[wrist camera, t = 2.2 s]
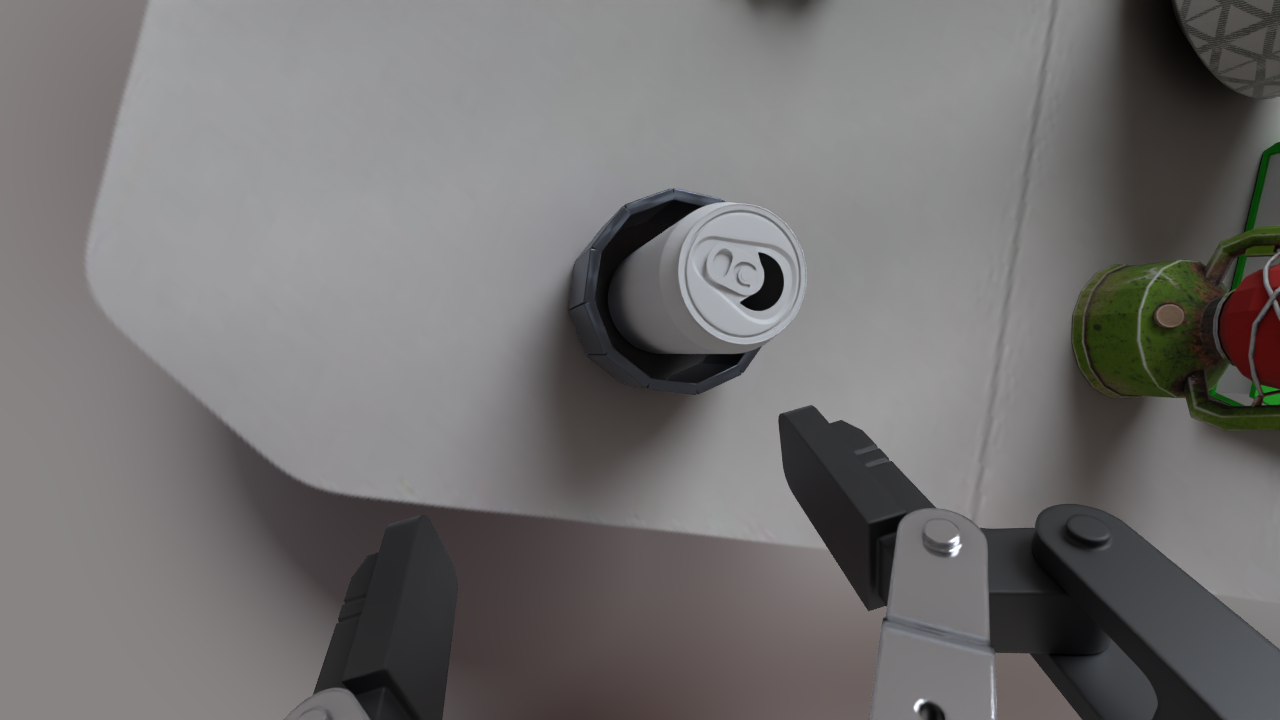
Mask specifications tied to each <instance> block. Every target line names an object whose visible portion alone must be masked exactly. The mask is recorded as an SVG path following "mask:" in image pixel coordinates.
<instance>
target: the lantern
mask: <svg viewBox="0 0 1280 720" xmlns="http://www.w3.org/2000/svg"><path fill="white" fill-rule="evenodd" d="M1278 249H1280V225H1277V226H1260V227H1257V228H1254V229H1252V230H1249V231H1247V232H1244V233H1242V234H1239V235H1236V236H1234V237H1231V238H1229V239H1226V240H1224V241H1221V242H1220V244H1219V246H1218V247H1217V249H1216V251H1215V252H1214V254H1213V256H1212V257H1211V259H1210V261H1209V262H1208V264H1207V266H1205V265H1204V264H1202V263H1201V262H1197V261H1188V260H1176V261H1168V262H1161V263H1153V264H1146V265H1139V266H1135V265H1120V264H1115V265H1113V266H1110V267H1108V268H1106V269H1104V270H1102V271H1099V272H1097V273H1096V274H1095V275H1094V276H1093V278H1092V279H1091V280H1090V281H1089V282H1088V284H1087V285H1086V286H1085V287H1084V288H1083V290H1082V291H1081V294H1080V296H1079V299H1078V302H1077V305H1076V308H1075V311H1074V314H1073V328H1072V344H1073V348H1074V351H1075V355H1076V359H1077V362H1078V366H1079V368H1080V370H1081V371H1082V373H1083V374H1084V376H1085V377H1086V378H1087V380H1088V381H1089V383H1090V384H1091V385H1092V387H1093V388H1095V389H1097V390H1098V391H1100V392H1102V393H1103V394H1105V395H1107V396H1109V397H1110V398H1137V397H1142V396H1156V397H1172V398H1186V401H1187V404H1188V408H1189V412H1190V416H1191V418H1194V419H1196V420H1199V421H1202V422H1204V423H1207V424H1210V425H1212V426H1215V427H1218V428H1220V429H1223V430H1280V405H1262V404H1263V400H1264V397H1267V396H1271V395H1276V394H1280V390H1277V391H1272V392H1267V393H1263V390H1262V387H1261V385H1263V386H1267V387H1272V388H1276V389H1280V264H1276V265H1273V266H1271V264H1272V263H1273V262H1274V261H1275V260H1276V259H1277V258H1278V257H1279V256H1280V251H1279V252H1277V250H1278ZM1243 254H1245V255H1244V256H1246V257H1268V256H1273V257H1272V258H1270V259H1269V260H1268V261H1267V263H1266V265H1265V267H1264V268H1263V269H1260V270H1258V271H1256V272H1254V273H1252V274H1250V275H1248V276H1246V277H1245V278H1244V279H1243V281H1242V282H1241V283H1240V285H1239V286H1238V287H1237V288H1236V289H1234V290H1232V291H1230V292H1228V291H1227V290H1226V288H1225V286H1224V285H1223V283H1222V281H1223V279H1224V277H1225V275H1226V273H1227V271H1228V269H1229V267H1230V265H1231V263H1232V261H1233V259H1234V258H1235V257H1238V256H1241V255H1243ZM1229 364H1231V365H1232V366H1236V367H1237V369H1238V370H1239V371H1240V373H1241V374H1242V375H1243V376H1245V377H1246V378H1248V379H1249V380H1251V381H1253V382H1254V384H1255V386H1256V389H1257V392H1258V394H1259V395H1258V396H1256V397H1255V399H1254V401H1253V403H1252V404H1251V406H1227V405H1224V404H1222V403H1219V402H1216V401H1213V400H1211V399H1210V397H1209V390H1211V389H1212V388H1214V386H1215V385H1216V384H1217V382H1218V381H1219V380H1220V378H1221V377H1222V375H1223V374H1224V373H1225V371H1226V370H1227V368H1228V366H1229Z"/></svg>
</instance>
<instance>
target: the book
mask: <svg viewBox="0 0 1280 720" xmlns="http://www.w3.org/2000/svg"><path fill="white" fill-rule="evenodd" d="M1277 225H1280V142H1277V143H1276V144H1274V145H1273V146H1271V147H1270V148H1269V149H1267V150H1266V151H1264V153H1263V157H1262V162H1261V166H1260V170H1259V175H1258V179H1257V183H1256V187H1255V192H1254V196H1253V200H1252V204H1251V209H1250V213H1249V217H1248V221H1247V226H1246V230H1245V232H1247V231H1249V230H1252V229H1254V228H1257V227H1260V226H1277ZM1279 251H1280V249H1278V250H1277V252H1279ZM1244 255H1245V254H1243V255H1241V256H1239V260H1238V264H1237V268H1236V273H1235V277H1234V281H1233V285H1232V290H1234V289H1236V288H1237V287H1238V286H1239V285H1240V283H1241V282H1242V281H1243V279H1244V278H1245V277H1246V276H1248V275H1250V274H1252V273H1254V272H1256V271H1258V270H1260V269H1263V268H1264V267H1265V265H1266V263H1267V261H1268V260H1269V259H1270V258H1272V257H1273V256H1268V257H1246V256H1244ZM1276 264H1280V256H1279V257H1278V258H1277V259H1276V260H1275V261H1274V262H1273V263H1272V264H1271V266H1273V265H1276ZM1232 290H1231V291H1232ZM1261 387H1262V390H1263V393H1267V392H1272V391H1277V390H1280V389H1276V388H1272V387H1267V386H1263V385H1261ZM1258 395H1259V394H1258V392H1257V389H1256V386H1255V384H1254V382H1253V381H1251V380H1249V379H1248V378H1246V377H1245V376H1243V375H1242V374H1241V373H1240V371H1239V370H1238V369H1237V367H1236V366H1232V365H1231V364H1229V366H1228V368H1227V370H1226V371H1225V373H1224V374H1223V375H1222V377H1221V378H1220V380H1219V381H1218V382H1217V384H1216V385H1215V386H1214V388H1212V389H1211V390H1209V396H1212V397H1214V398H1216V399H1218V400H1221V401H1223V402H1225V403H1227V404H1230V405H1232V406H1251V404H1252V403H1253V401H1254V399H1255V397H1256V396H1258ZM1262 405H1280V394H1276V395H1271V396H1267V397H1264V400H1263V404H1262Z"/></svg>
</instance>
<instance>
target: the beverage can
mask: <svg viewBox="0 0 1280 720" xmlns="http://www.w3.org/2000/svg"><path fill="white" fill-rule="evenodd" d="M806 283H807V270H806V263H805V258H804V254H803V251H802V248H801V246H800V244H799V242H798V240H797V238H796V236H795V235H794V233H793V232H792V230H791V229H790V228H789V227H788V225H787V224H786V223H785V222H784V221H783V220H781V219H780V218H779V217H778V216H777V215H775V214H773V213H772V212H770V211H769V210H766V209H764V208H761V207H759V206H755V205H751V204H740V203H733V202H720V203H714V204H709V205H706V206H703V207H701V208H699V209H697V210H695V211H693V212H692V213H690V214H689V215H687V216H686V217H684V218H683V219H681V220H680V221H678V222H677V223H675V224H674V225H673V226H671V227H670V228H668V229H667V230H665V231H664V232H662V233H661V234H659V235H658V236H656V237H655V238H653V239H652V240H650V241H649V242H648V243H646V244H645V245H643V246H642V247H640V248H639V249H637V250H636V251H634V252H633V253H631V254H630V255H629V256H627V257H626V258H625V259H624V260H623V261H622V262H621V263H620V264H619V266H618V267H617V269H616V270H615V272H614V274H613V276H612V279H611V282H610V285H609V291H608V306H609V311H610V315H611V318H612V320H613V323H614V325H615V326H616V328H617V330H618V331H619V333H620V334H621V335H622V336H623V337H624V338H625V339H626V340H627V341H628V342H629V343H631V344H632V345H633V346H635V347H637V348H639V349H641V350H643V351H646V352H649V353H655V354H738V353H744V352H748V351H752V350H754V349H757V348H759V347H761V346H763V345H764V344H766V343H767V342H769V341H770V340H771V339H772V338H773V337H774V336H776V335H777V334H779V333H780V332H781V331H782V330H783V329H784V328H786V327H787V326H788V325H789V324H790V323H791V321H792V320H793V319H794V317H795V316H796V314H797V313H798V311H799V309H800V306H801V304H802V302H803V298H804V295H805V290H806Z"/></svg>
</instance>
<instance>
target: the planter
mask: <svg viewBox="0 0 1280 720" xmlns="http://www.w3.org/2000/svg"><path fill="white" fill-rule="evenodd" d="M1172 5H1173V9H1174V12H1175V15H1176V18H1177V21H1178V23H1179V26H1180V28H1181V30H1182V32H1183V33H1184V35H1185V37H1186V38H1187V40H1188V41H1189V43H1190V44H1191V45H1192V47H1193V49H1194V50H1195V52H1196V54H1197V55H1198V56H1199V58H1200V59H1201V61H1202V62H1203V63H1204V65H1205V66H1206V67H1207V68H1208V70H1209V71H1210V72H1211V73H1212V74H1213V75H1214V76H1215V77H1216V78H1217V79H1218V80H1219V81H1221V82H1222V83H1223V84H1224V85H1226V86H1227V87H1229V88H1230V89H1232V90H1234V91H1236V92H1237V93H1239V94H1242V95H1245V96H1247V97H1252V98H1257V99H1269V98H1276V97H1280V0H1172Z"/></svg>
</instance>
